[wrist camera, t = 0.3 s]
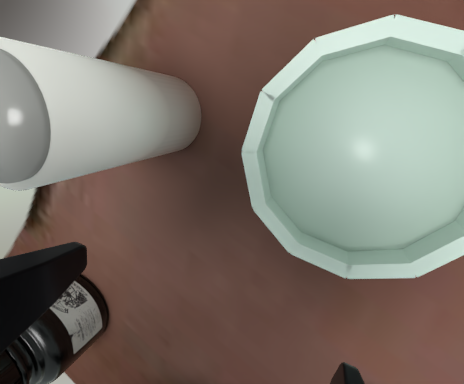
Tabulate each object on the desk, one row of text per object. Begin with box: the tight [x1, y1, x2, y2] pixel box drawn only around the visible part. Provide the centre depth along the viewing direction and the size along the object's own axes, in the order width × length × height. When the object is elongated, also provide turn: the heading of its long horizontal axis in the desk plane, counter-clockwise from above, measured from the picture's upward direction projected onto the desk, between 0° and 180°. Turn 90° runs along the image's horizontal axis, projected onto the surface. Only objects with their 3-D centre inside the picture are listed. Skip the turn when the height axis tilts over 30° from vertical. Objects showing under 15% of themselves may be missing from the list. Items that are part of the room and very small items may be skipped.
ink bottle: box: [0, 276, 107, 384], centre depth 28 cm, size 10×9×12 cm
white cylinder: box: [0, 37, 201, 191], centre depth 17 cm, size 6×6×13 cm
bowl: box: [241, 14, 464, 279], centre depth 18 cm, size 15×15×3 cm
